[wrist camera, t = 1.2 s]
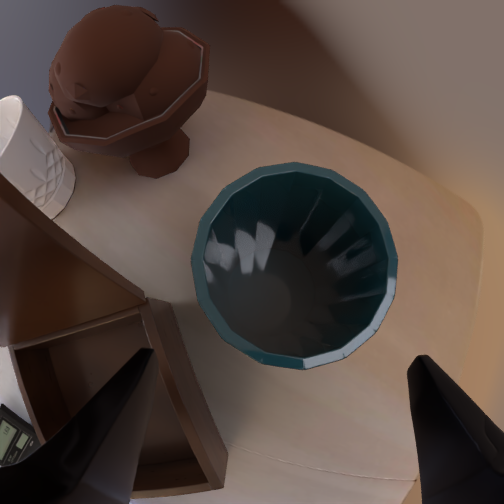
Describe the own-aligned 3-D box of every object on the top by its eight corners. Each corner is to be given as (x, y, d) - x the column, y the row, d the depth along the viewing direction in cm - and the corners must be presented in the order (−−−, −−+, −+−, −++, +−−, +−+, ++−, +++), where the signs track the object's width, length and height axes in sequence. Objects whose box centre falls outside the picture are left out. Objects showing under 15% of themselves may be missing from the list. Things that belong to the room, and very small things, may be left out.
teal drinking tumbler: (335, 303, 21) (429, 283, 9) (258, 358, 20) (273, 409, 8) (282, 228, 22) (317, 134, 10) (204, 279, 21) (154, 231, 9)
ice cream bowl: (246, 130, 24) (247, -29, 9) (165, 234, 22) (57, 107, 7) (157, 90, 25) (117, -34, 10) (82, 175, 23) (-16, 70, 8)
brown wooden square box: (228, 454, 18) (223, 488, 13) (96, 472, 17) (69, 496, 12) (170, 302, 21) (147, 297, 15) (45, 341, 19) (6, 342, 14)
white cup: (12, 223, 22) (-55, 186, 12) (39, 153, 23) (-14, 101, 14) (64, 235, 21) (-13, 192, 12) (93, 155, 23) (39, 88, 13)
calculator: (67, 521, 15) (55, 533, 12) (-6, 442, 16) (-22, 448, 13) (101, 491, 16) (87, 505, 13) (16, 399, 18) (-3, 404, 15)
